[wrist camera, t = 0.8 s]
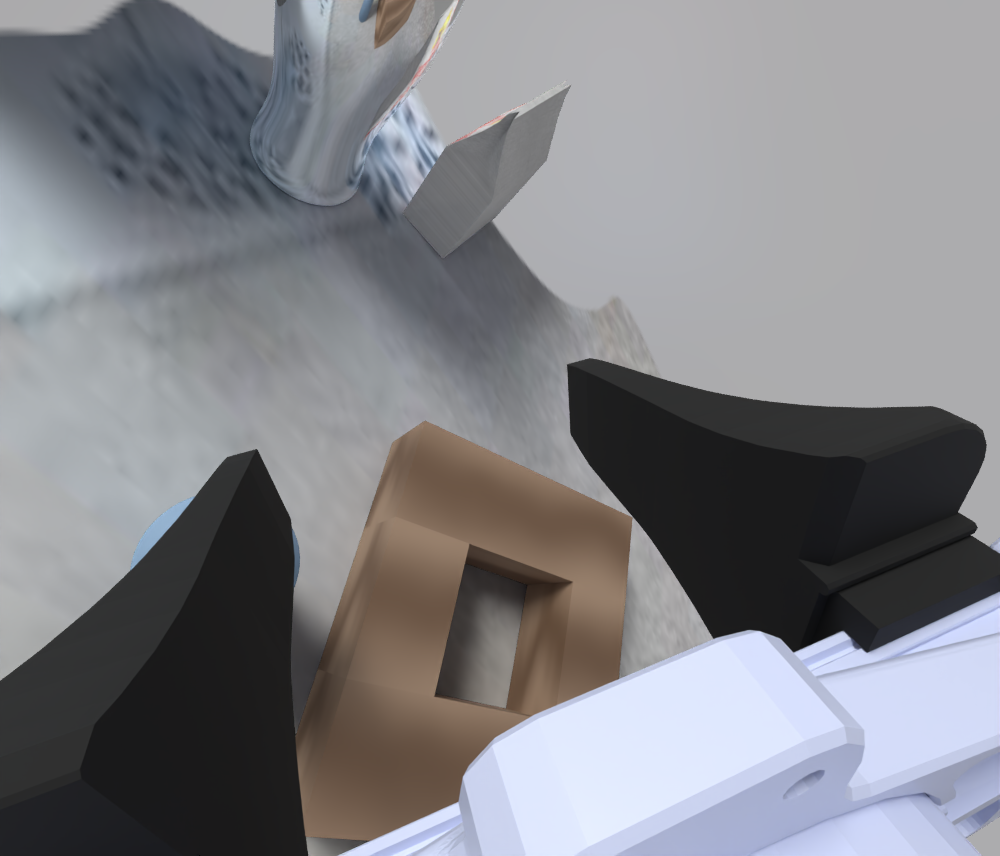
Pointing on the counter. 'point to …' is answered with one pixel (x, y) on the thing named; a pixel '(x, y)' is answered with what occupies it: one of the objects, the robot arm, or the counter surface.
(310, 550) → the counter surface
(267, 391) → the counter surface
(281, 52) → the silver metal tumbler
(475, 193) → the grey angular block
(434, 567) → the socket board
